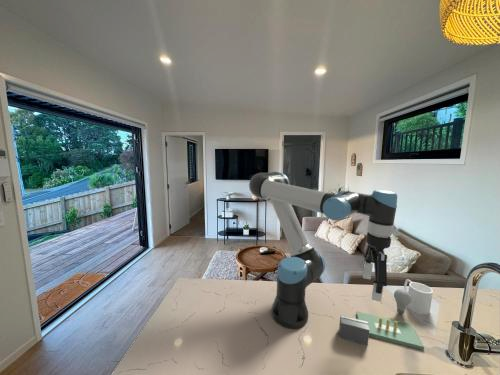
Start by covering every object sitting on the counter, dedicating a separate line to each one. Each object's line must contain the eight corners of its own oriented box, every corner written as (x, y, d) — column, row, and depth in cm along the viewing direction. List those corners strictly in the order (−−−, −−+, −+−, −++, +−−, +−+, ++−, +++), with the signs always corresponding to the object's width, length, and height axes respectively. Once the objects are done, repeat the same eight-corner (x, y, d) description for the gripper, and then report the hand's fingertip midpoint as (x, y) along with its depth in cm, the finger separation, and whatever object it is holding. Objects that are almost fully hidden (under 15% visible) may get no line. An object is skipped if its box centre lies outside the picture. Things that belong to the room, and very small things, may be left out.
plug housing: (339, 337, 79) (341, 322, 78) (339, 329, 83) (340, 314, 82) (367, 345, 76) (369, 329, 75) (365, 336, 80) (367, 321, 79)
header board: (360, 333, 81) (361, 322, 80) (356, 313, 91) (357, 303, 91) (423, 350, 75) (425, 338, 74) (411, 326, 85) (413, 316, 84)
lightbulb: (411, 320, 88) (415, 295, 87) (395, 317, 90) (398, 293, 88) (404, 310, 94) (407, 287, 93) (389, 307, 96) (392, 285, 94)
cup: (410, 296, 104) (412, 277, 103) (434, 313, 93) (438, 292, 91) (395, 297, 103) (398, 278, 102) (418, 315, 91) (421, 294, 90)
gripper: (405, 250, 63) (394, 314, 66) (380, 224, 86) (373, 272, 90) (377, 246, 65) (368, 308, 68) (360, 222, 88) (354, 269, 92)
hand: (371, 288), depth 79 cm, fingers open, 13 cm apart
